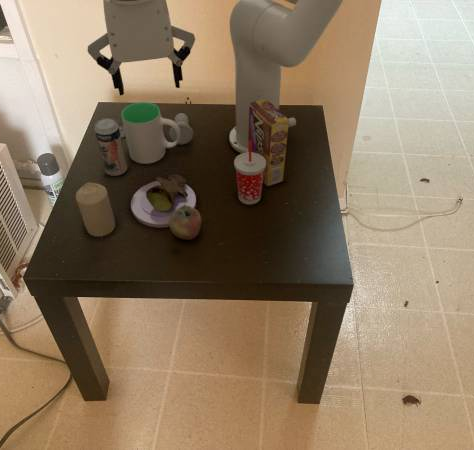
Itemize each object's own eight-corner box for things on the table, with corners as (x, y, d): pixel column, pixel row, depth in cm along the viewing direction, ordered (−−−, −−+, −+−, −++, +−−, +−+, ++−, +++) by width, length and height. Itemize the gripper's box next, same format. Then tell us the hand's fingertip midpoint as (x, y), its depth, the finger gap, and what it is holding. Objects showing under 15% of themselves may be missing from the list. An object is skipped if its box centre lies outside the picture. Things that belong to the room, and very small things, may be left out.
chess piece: (187, 120, 107) (187, 104, 115) (165, 128, 108) (166, 112, 115) (196, 140, 111) (196, 123, 118) (175, 148, 111) (175, 131, 119)
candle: (84, 220, 94) (71, 181, 87) (113, 213, 96) (102, 174, 88) (88, 240, 91) (75, 201, 84) (117, 232, 92) (107, 193, 85)
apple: (167, 251, 89) (164, 228, 84) (173, 220, 94) (169, 197, 90) (200, 251, 89) (198, 229, 84) (203, 220, 94) (202, 198, 90)
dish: (181, 176, 103) (180, 171, 103) (207, 213, 95) (206, 209, 95) (122, 195, 99) (121, 191, 98) (144, 236, 91) (143, 232, 90)
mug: (185, 142, 111) (181, 103, 104) (180, 164, 106) (175, 124, 98) (133, 141, 112) (125, 101, 105) (126, 163, 106) (117, 122, 99)
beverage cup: (254, 211, 96) (256, 154, 86) (228, 199, 98) (227, 143, 88) (270, 193, 99) (273, 137, 89) (244, 183, 102) (244, 127, 92)
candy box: (284, 181, 102) (290, 119, 91) (267, 187, 101) (270, 125, 90) (264, 158, 108) (266, 97, 97) (247, 163, 106) (247, 102, 95)
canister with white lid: (100, 173, 104) (88, 126, 96) (114, 160, 107) (103, 114, 99) (118, 179, 103) (107, 132, 94) (132, 167, 106) (122, 120, 97)
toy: (172, 214, 93) (197, 195, 101) (170, 189, 90) (196, 172, 98) (142, 208, 95) (169, 190, 103) (140, 184, 93) (167, 167, 101)
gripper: (186, -30, 75) (195, 71, 88) (73, -19, 73) (99, 82, 86) (192, -12, 70) (201, 92, 83) (71, 1, 68) (99, 105, 81)
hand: (149, 87), depth 84 cm, fingers open, 9 cm apart
